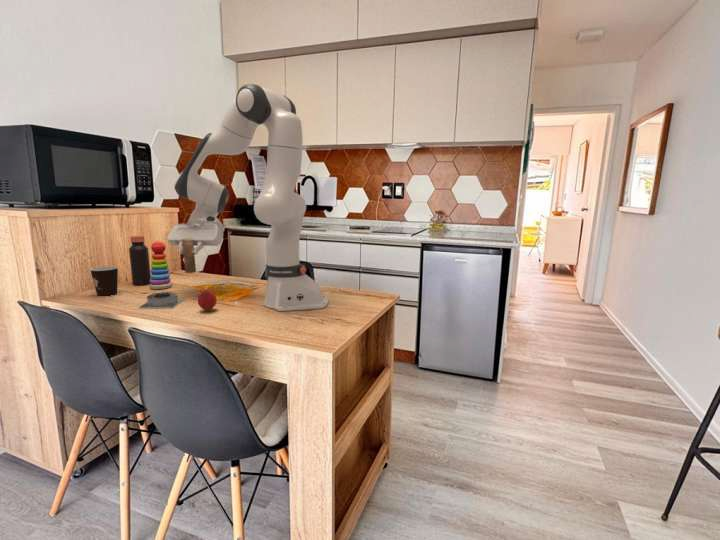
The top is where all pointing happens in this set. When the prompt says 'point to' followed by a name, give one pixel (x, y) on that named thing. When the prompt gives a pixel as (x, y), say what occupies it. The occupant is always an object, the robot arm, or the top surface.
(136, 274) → the bottle
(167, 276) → the stacking toy
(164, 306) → the collar
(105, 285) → the coffee mug
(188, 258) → the dowel
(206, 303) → the onion
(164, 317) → the top surface
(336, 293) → the top surface
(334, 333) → the top surface
